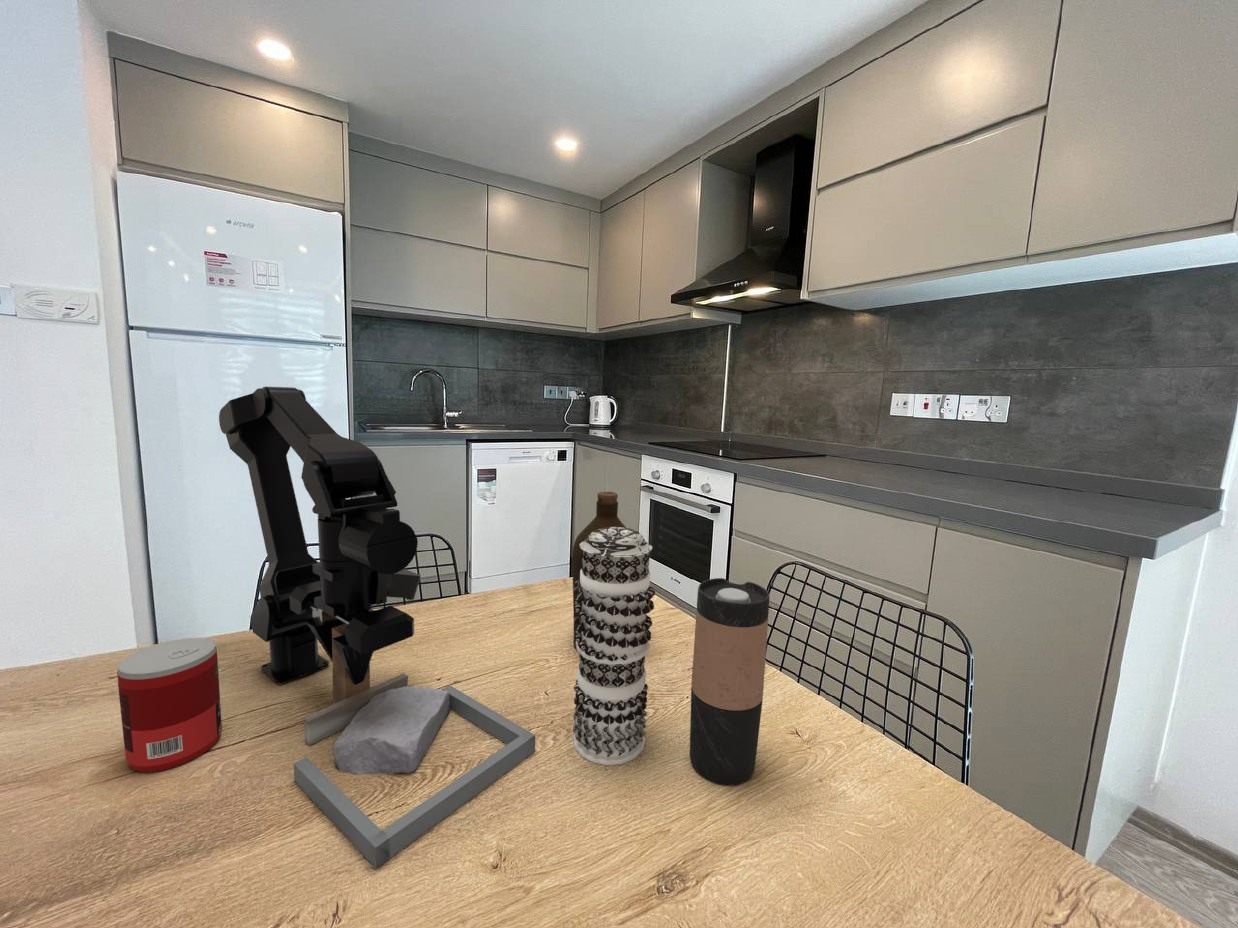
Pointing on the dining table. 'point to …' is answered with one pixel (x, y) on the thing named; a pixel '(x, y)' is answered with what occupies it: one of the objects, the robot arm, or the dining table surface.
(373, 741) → the stone block
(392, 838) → the frame
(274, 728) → the dining table surface
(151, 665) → the canned food
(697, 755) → the travel mug
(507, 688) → the dining table surface
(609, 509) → the olive oil
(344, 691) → the block
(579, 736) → the decorative candle
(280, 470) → the robot arm
